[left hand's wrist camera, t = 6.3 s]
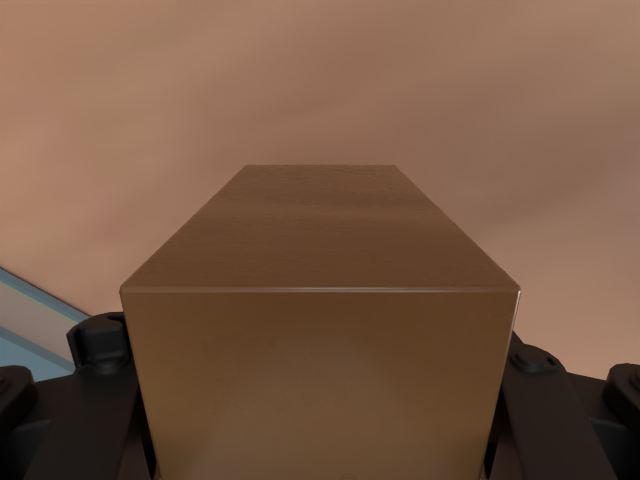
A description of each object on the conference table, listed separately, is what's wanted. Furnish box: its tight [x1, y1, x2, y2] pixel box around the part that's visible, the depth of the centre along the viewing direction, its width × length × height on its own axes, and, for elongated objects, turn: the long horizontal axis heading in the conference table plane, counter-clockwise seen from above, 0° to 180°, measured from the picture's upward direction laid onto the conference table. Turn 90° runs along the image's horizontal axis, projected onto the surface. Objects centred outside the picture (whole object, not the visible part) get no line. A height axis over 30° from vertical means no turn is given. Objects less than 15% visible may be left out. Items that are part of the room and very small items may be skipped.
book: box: [0, 269, 91, 382], centre depth 29 cm, size 23×16×5 cm
